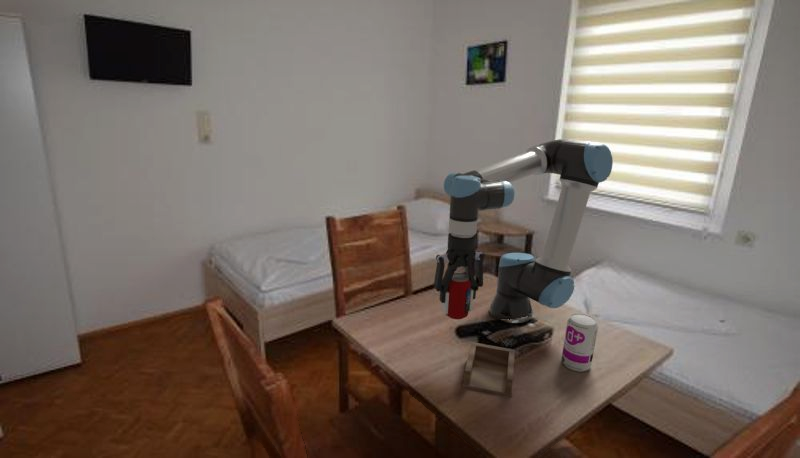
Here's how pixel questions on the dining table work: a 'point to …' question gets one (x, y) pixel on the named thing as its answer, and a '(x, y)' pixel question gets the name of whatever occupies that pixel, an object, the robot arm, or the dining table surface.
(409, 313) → the dining table surface
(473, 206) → the robot arm
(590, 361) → the supplement can
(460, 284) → the beverage can
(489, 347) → the walnut U-rest
